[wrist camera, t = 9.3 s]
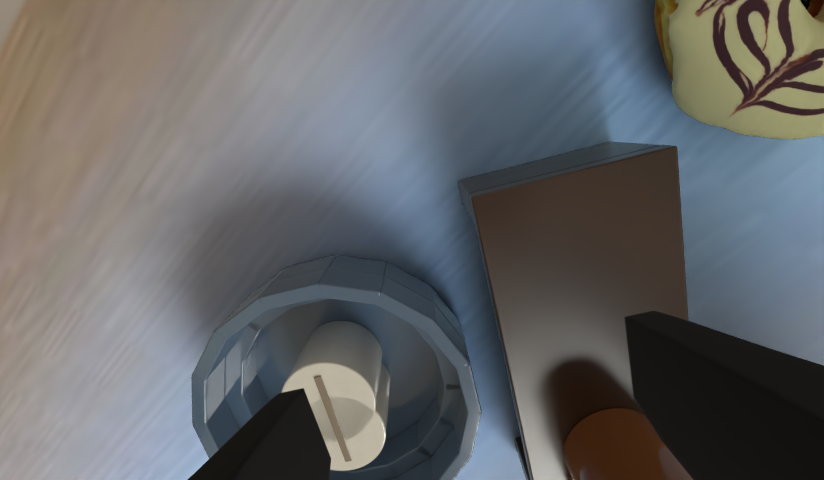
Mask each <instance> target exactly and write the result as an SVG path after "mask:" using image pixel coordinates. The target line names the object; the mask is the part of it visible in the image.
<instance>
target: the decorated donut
mask: <svg viewBox="0 0 824 480" xmlns="http://www.w3.org/2000/svg"><path fill="white" fill-rule="evenodd" d="M654 18H655V30H656V34H657V38H658V41H659V44H660V47H661V51H662V55H663V56H664V60H665V64H666V67H667V70H668V73H669V75H670V78H671V80H672V95H673V98H674V100H675V103H676V104H677V105H678V107H679V108H680V109H681V110H682V111H683V112H685V113H686V114H687V115H689V116H690V117H692V118H694V119H696V120H698V121H701V122H703V123H705V124H709V125H714V126H720V127H723V128H725V129H728V130H731V131H733V132H736V133H739V134H742V135H748V136H759V137H767V138H773V139H802V138H808V137H815V136H822V135H824V0H811V1H810V6H809V7H808V10H806V8H805V7H804V6H803V4H802V3H801V1H800V0H656V2H655V12H654Z"/></svg>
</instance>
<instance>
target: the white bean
mask: <svg viewBox="0 0 824 480" xmlns="http://www.w3.org/2000/svg"><path fill="white" fill-rule="evenodd" d="M390 387H391V380H390V375H389V373H388V370H387V368H386V367H385V365H384V364H383V363H382V350H381V347H380V344H379V342H378V340H377V339H376V337H375V336H374V335H373V334H372V333H371V332H370V331H369V330H368V329H366V328H365V327H363V326H361V325H359V324H357V323H353V322H349V321H333V322H329V323H326V324H323V325H321V326H320V327H318V328H317V329H315V330H314V331H313V332H312V333H311V334H310V336H309V337H308V338H307V340H306V342H305V344H304V346H303V348H302V350H301V352H300V354H299V356H298V358H297V360H296V362H295V364H294V366H293V368H292V370H291V372H290V374H289V376H288V378H287V380H286V382H285V384H284V386H283V388H282V392H281V393H283V392H288V391H292V390H297V389H301V388H304V390H305V393H306V395H307V398H308V401H309V403H310V406H311V408H312V411H313V413H314V416H315V418H316V421H317V424H318V426H319V429H320V431H321V434H322V436H323V439H324V441H325V444H326V447H327V449H328V452H329V454H330V457H331V466H330V470H336V471H348V470H354V469H358V468H361V467H363V466H365V465H367V464H369V463H370V462H372V461H373V460H374V459H375V458H376V457H377V456H378V455H379V453H380V452H381V450H382V449H383V446H384V444H385V440H386V431H387V420H388V409H389V398H390Z"/></svg>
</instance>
